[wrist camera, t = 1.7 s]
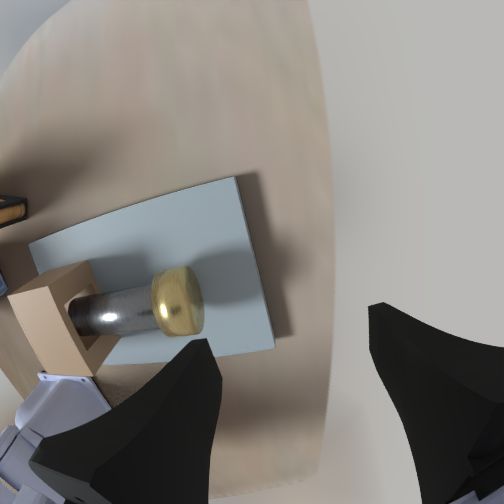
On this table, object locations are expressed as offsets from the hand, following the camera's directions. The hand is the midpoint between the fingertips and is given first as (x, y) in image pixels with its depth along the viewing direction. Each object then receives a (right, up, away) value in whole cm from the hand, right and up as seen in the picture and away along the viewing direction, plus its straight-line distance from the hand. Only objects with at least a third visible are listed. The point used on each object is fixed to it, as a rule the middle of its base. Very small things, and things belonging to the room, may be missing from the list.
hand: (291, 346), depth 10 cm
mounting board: (-10, +1, +10) cm, 14 cm away
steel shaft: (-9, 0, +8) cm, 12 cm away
